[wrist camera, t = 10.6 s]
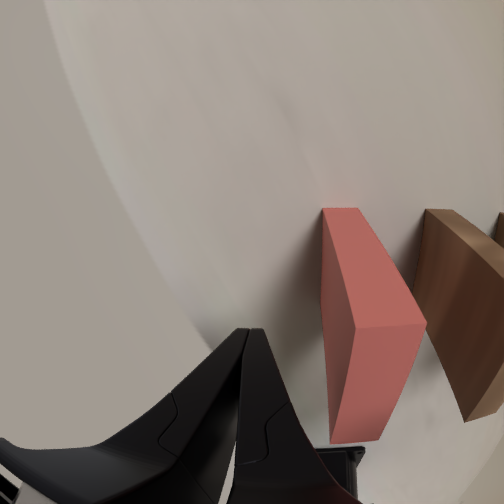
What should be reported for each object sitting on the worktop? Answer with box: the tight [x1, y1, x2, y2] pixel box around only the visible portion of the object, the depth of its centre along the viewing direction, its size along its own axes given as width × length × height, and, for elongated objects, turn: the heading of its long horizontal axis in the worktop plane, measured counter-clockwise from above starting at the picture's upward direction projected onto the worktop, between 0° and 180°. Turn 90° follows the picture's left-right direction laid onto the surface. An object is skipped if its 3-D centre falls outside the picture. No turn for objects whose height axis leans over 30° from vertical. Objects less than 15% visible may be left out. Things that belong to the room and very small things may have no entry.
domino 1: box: [320, 208, 427, 444], centre depth 10 cm, size 2×5×8 cm, turn 5°
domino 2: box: [412, 209, 504, 423], centre depth 9 cm, size 2×5×8 cm, turn 5°
